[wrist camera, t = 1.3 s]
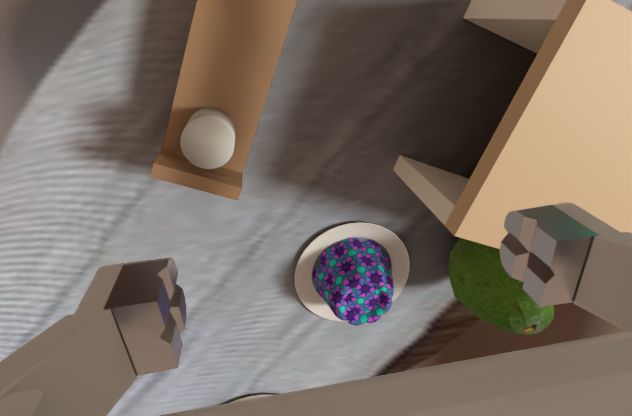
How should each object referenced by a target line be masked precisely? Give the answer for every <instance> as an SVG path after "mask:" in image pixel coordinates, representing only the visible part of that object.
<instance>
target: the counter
mask: <svg viewBox="0 0 632 416" xmlns="http://www.w3.org/2000/svg"><path fill="white" fill-rule="evenodd" d="M463 19H466V20H468V21H470V22H472V23H474V24H476V25H478V26H480V27H482V28H485V29H487V30H489V31H491V32H493V33H495V34H497V35H499V36H501V37H504V38H506V39H508V40H510V41H512V42H514V43H516V44H518V45H520V46H523V47H525V48H527V49H529V50H531V51H533V52H535V53H537V56H536V57H535V59H534V61H533V63H532V65H531V67H530V68H529V70H528V72H527V74H526V76H525V78H524V79H523V81H522V83H521V85H520V87H519V89H518V91H517V92H516V94H515V96H514V98H513V100H512V102H511V103H510V105H509V107H508V109H507V111H506V113H505V114H504V116H503V118H502V120H501V122H500V124H499V126H498V127H497V129H496V131H495V133H494V135H493V137H492V138H491V140H490V142H489V144H488V146H487V148H486V149H485V151H484V153H483V155H482V157H481V159H480V161H479V162H478V164H477V166H476V168H475V170H474V172H473V173H472V175H471V177H470V179H468V178H466V177H463V176H460V175H457V174H454V173H451V172H448V171H445V170H442V169H439V168H436V167H433V166H430V165H427V164H425V163H422V162H419V161H416V160H413V159H410V158H407V157H404V156H401V155H399V157H398V159H397V162H396V164H395V166H394V168H393V171H394V172H395V173H396V174H397V175H398V176H399V177H400V178H401V179H402V180H403V181H404V183H405V184H406V185H407V186H408V187H409V188H410V189H411V190H412V191H413V192H414V193H415V194H416V195H417V196H418V198H419V199H420V200H421V201H422V202H423V203H424V204H425V205H426V206H427V207H428V208H429V209H430V210H431V211H432V213H433V214H434V215H435V216H436V217H437V218H438V219H439V220H440V221H441V222H442V223H443V224H444V225H445V226H446V228H447V229H448V230H449V231H450V232H451V233H452V234H453V235H454V236H456V237H460V238H463V239H466V240H470V241H473V242H477V243H480V244H484V245H487V246H491V247H494V248H498V249H500V245H501V241H502V240H503V239H504V238H505V236H506V235H507V234H508V232H507V231H506V229H505V228H504V223H505V218H506V216H507V214H508V213H509V212H510V211H516V210H522V209H529V208H535V207H541V206H547V205H552V204H557V203H563V202H569V203H574V204H575V205H577V206H579V207H580V208H582V209H583V210H585V211H587V212H588V213H590V214H592V215H593V216H595V217H596V218H598V219H600V220H601V221H603V222H605V223H606V224H608V225H609V226H611V227H613V228H614V229H616V230H618V231H619V232H630V233H632V12H631V11H629V10H628V9H626V8H624V7H622V6H620V5H619V4H617V3H615V2H613V1H612V0H471V2H470V4H469V6H468V8H467V11H466V13H465V15H464V17H463Z"/></svg>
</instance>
